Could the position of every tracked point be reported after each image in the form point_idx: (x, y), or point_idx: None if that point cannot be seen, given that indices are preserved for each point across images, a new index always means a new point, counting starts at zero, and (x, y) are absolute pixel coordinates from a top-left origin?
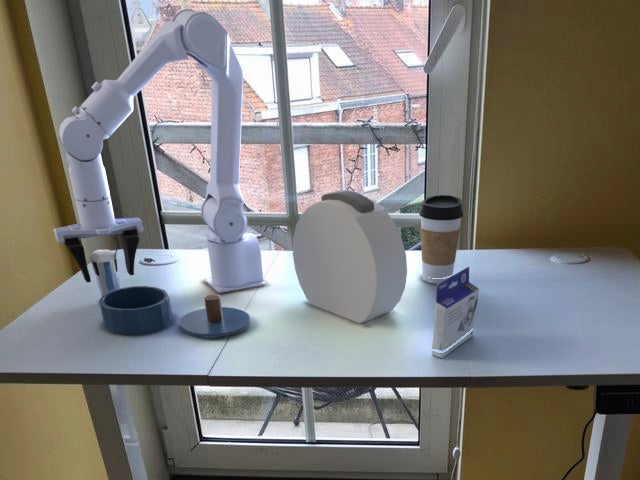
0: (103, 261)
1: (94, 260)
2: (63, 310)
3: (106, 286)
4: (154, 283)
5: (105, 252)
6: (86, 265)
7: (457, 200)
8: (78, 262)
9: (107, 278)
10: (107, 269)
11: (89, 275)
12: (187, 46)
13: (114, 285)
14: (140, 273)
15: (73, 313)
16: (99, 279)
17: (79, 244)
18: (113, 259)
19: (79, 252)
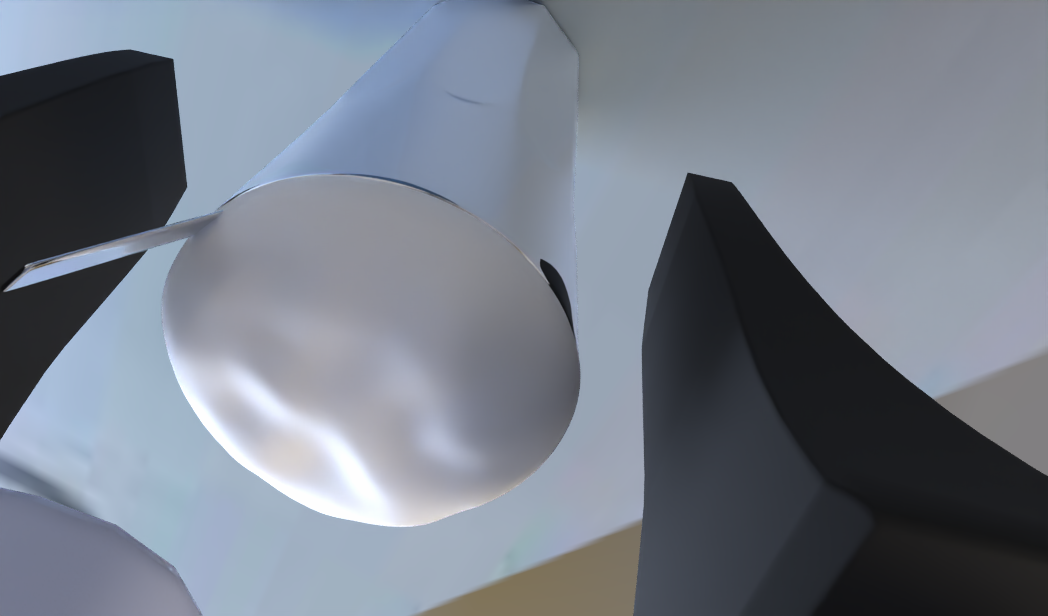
0: (439, 206)
1: (559, 312)
2: (964, 167)
3: (530, 70)
4: None
5: (304, 371)
6: (730, 280)
7: None
8: (867, 348)
9: (483, 94)
10: (433, 131)
11: (700, 204)
12: None
13: (433, 45)
14: (127, 425)
15: (962, 31)
16: (568, 166)
17: (842, 613)
18: (252, 192)
19: (888, 441)
